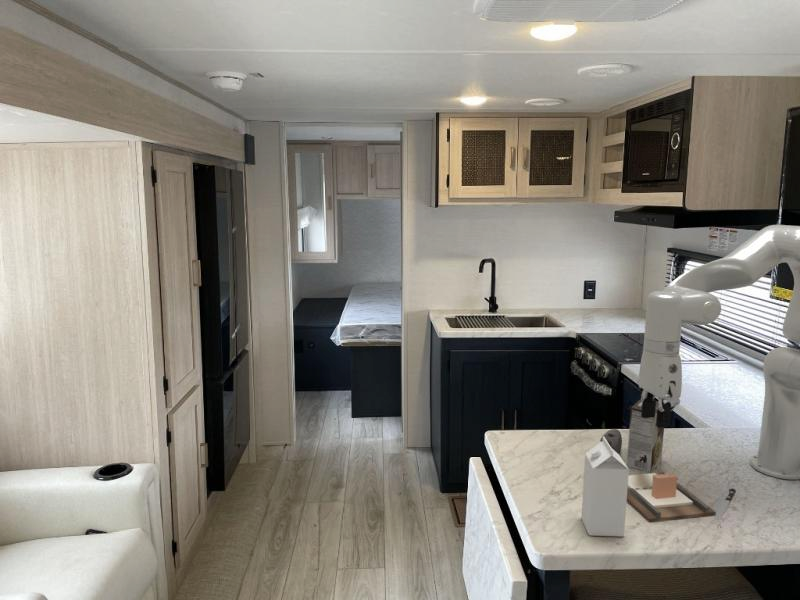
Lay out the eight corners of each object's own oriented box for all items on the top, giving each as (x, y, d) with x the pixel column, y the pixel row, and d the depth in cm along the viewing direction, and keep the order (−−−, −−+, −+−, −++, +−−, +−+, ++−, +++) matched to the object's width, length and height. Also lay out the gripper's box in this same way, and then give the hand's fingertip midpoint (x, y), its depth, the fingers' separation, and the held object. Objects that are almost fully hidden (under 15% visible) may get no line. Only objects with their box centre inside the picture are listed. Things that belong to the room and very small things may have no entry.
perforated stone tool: (606, 443, 171) (608, 420, 170) (626, 447, 168) (628, 423, 167) (594, 464, 158) (596, 439, 157) (615, 469, 156) (617, 443, 154)
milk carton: (614, 519, 132) (620, 436, 129) (624, 537, 125) (630, 451, 122) (581, 517, 133) (586, 435, 129) (588, 536, 126) (594, 450, 122)
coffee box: (637, 454, 164) (641, 397, 161) (662, 461, 160) (667, 402, 157) (625, 466, 157) (629, 406, 154) (651, 473, 153) (656, 412, 150)
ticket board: (663, 475, 152) (664, 467, 152) (715, 515, 134) (716, 506, 133) (604, 480, 149) (605, 473, 149) (649, 522, 131) (649, 513, 130)
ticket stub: (673, 489, 143) (675, 467, 142) (692, 504, 136) (695, 481, 135) (634, 493, 141) (636, 470, 140) (652, 508, 135) (654, 485, 134)
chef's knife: (702, 523, 132) (717, 527, 130) (702, 518, 131) (717, 522, 130) (722, 489, 146) (736, 492, 144) (722, 484, 146) (736, 487, 144)
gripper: (701, 355, 130) (693, 435, 134) (654, 336, 147) (648, 408, 150) (669, 357, 129) (662, 437, 132) (625, 337, 145) (620, 410, 149)
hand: (655, 421), depth 141 cm, fingers open, 5 cm apart
